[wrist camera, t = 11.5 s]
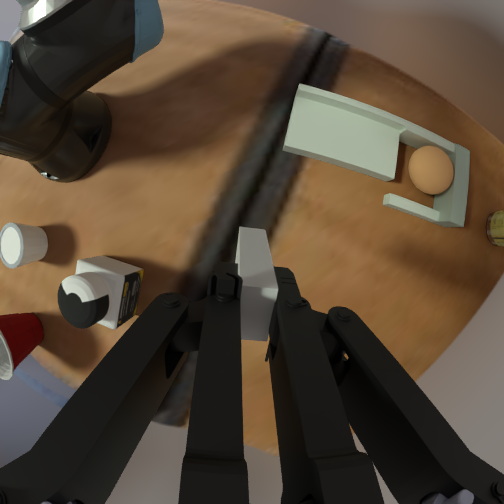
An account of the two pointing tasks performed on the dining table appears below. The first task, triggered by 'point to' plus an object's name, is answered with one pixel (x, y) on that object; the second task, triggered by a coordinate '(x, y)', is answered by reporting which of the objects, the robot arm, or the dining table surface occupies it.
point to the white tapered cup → (22, 244)
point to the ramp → (373, 148)
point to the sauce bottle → (496, 228)
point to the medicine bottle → (100, 293)
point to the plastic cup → (17, 340)
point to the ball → (430, 169)
